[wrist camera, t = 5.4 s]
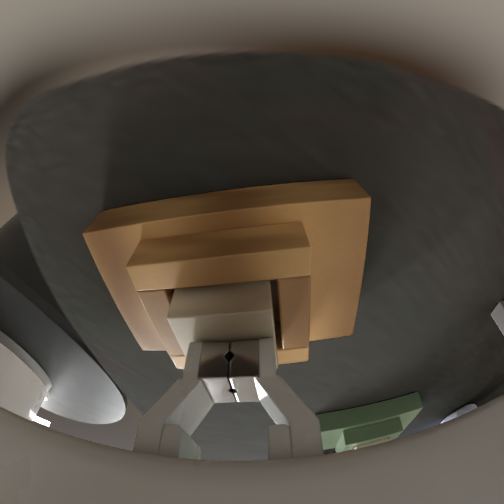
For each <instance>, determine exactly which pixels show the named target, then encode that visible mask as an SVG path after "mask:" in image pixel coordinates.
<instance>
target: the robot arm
mask: <svg viewBox="0 0 504 504" xmlns="http://www.w3.org/2000/svg"><path fill="white" fill-rule="evenodd" d="M51 387H52V384H51V381H50V379H49V377H48V375H47V374H46V373H45V371H44V370H43V369H42V368H41V367H40V365H39V364H38V363H37V362H36V361H35V360H34V359H33V358H32V357H31V356H30V355H29V354H28V353H27V352H26V351H24V350H23V349H22V348H21V347H20V346H19V345H18V344H17V343H15V342H14V341H13V340H12V339H11V338H9V337H8V336H7V335H6V334H4V333H3V332H2V331H0V504H504V394H503V395H501V396H499V397H497V398H495V399H494V400H492V401H490V402H488V403H486V404H484V405H482V406H480V407H478V408H476V409H474V410H472V411H470V412H467V413H465V414H463V415H461V416H458V417H456V418H454V419H451V420H449V421H447V422H444V423H441V424H439V425H436V426H434V427H431V428H428V429H425V430H423V431H420V432H417V433H414V434H411V435H407V436H404V437H401V438H398V439H394V440H391V441H387V442H383V443H379V444H375V445H371V446H367V447H363V448H358V449H353V450H348V451H343V452H337V453H331V454H325V455H324V453H323V445H322V437H321V429H320V422H319V419H318V418H317V417H316V415H315V414H314V413H313V412H312V411H311V410H310V409H309V408H308V407H307V406H306V404H305V403H304V402H303V401H302V400H301V399H300V398H299V397H298V396H297V394H296V393H295V392H294V391H293V390H292V389H291V388H290V387H289V385H288V384H287V383H286V382H285V381H284V380H283V378H282V377H281V376H277V369H276V358H275V348H274V338H265V339H249V340H236V341H232V342H231V341H226V342H190V344H189V346H188V351H187V356H186V361H185V367H184V372H183V378H182V379H178V380H177V381H176V382H175V383H174V384H173V385H172V386H171V388H170V389H169V390H168V391H167V392H166V393H165V394H164V395H163V396H162V397H161V398H160V399H159V400H158V401H157V402H156V403H155V404H154V405H153V406H152V407H151V408H150V409H149V410H148V411H147V413H146V414H145V415H144V416H143V417H142V418H141V419H140V420H139V425H138V429H137V434H136V439H135V443H134V449H133V451H130V450H125V449H120V448H116V447H111V446H107V445H103V444H99V443H95V442H92V441H88V440H84V439H81V438H78V437H74V436H71V435H68V434H65V433H62V432H59V431H57V430H54V429H51V428H48V427H49V425H50V422H48V421H46V420H43V419H41V418H39V417H36V414H37V412H38V410H39V408H40V406H41V404H42V402H43V400H45V401H47V400H48V398H49V396H50V395H49V392H48V391H49V390H50V388H51ZM236 399H237V401H238V402H256V401H260V403H261V404H262V405H263V407H264V408H265V410H266V411H267V412H268V414H269V415H270V417H271V418H272V419H273V421H274V422H275V423H276V425H271V426H270V427H269V428H268V453H269V460H263V461H214V460H200V456H201V448H200V447H199V446H198V445H197V444H196V443H195V442H194V441H193V440H192V439H191V437H190V436H191V435H192V434H193V432H194V431H195V429H196V428H197V427H198V425H199V424H200V423H201V421H202V420H203V418H204V417H205V416H206V414H207V413H208V411H209V410H210V409H211V407H212V406H213V404H214V403H219V402H236ZM33 420H34V421H36V422H39V423H41V424H43V425H46V426H48V427H46V426H43V425H41V424H38V423H36V422H33Z"/></svg>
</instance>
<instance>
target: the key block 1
mask: <svg viewBox="0 0 504 504" xmlns="http://www.w3.org/2000/svg"><path fill="white" fill-rule="evenodd" d="M370 206H371V197H370V196H369V195H368V194H367V193H366V192H365V191H364V189H363V188H362V187H361V186H360V185H359V184H358V183H357V182H356V181H355V180H354V179H336V180H322V181H309V182H297V183H286V184H276V185H266V186H257V187H248V188H240V189H232V190H224V191H216V192H209V193H202V194H195V195H189V196H182V197H176V198H170V199H164V200H158V201H152V202H146V203H141V204H136V205H130V206H125V207H120V208H115V209H110V210H105V211H102V212H101V213H100V214H99V215H98V216H97V217H96V218H95V220H94V221H93V222H92V223H91V224H90V225H89V226H88V227H87V229H86V230H85V231H84V232H83V236H84V239H85V241H86V243H87V246H88V248H89V250H90V252H91V255H92V257H93V259H94V261H95V263H96V265H97V268H98V270H99V272H100V274H101V276H102V278H103V280H104V282H105V284H106V286H107V288H108V290H109V292H110V294H111V296H112V298H113V299H114V301H115V303H116V305H117V307H118V309H119V311H120V312H121V314H122V316H123V318H124V320H125V321H126V323H127V325H128V326H129V328H130V330H131V332H132V333H133V335H134V337H135V338H136V340H137V342H138V343H139V345H140V346H141V348H142V350H167V352H168V354H169V355H170V357H171V359H172V360H173V362H174V364H175V366H176V367H177V368H178V369H184V367H185V361H186V357H185V355H184V353H183V351H182V349H181V347H180V345H179V343H178V341H177V339H176V337H175V335H174V332H173V330H172V328H171V326H170V324H169V322H168V320H167V315H168V311H169V308H170V304H171V301H172V297H173V294H174V290H175V288H185V287H197V286H209V285H220V284H231V283H242V282H252V281H262V280H270V285H271V294H272V304H273V314H274V324H275V334H276V346H277V358H278V364H284V363H293V362H302V361H308V357H309V341H313V340H320V339H328V338H334V337H341V336H347V335H352V334H353V329H354V324H355V319H356V314H357V308H358V302H359V297H360V291H361V284H362V278H363V271H364V263H365V256H366V248H367V239H368V229H369V218H370Z"/></svg>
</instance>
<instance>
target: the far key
mask: <svg viewBox="0 0 504 504" xmlns="http://www.w3.org/2000/svg"><path fill="white" fill-rule="evenodd" d="M387 441H388V438H385V439H381V440H377V441H373V442H369V443H365V444H361V445H356V446H354V447H353V449H358V448H363V447H367V446H371V445H375V444H379V443H383V442H387ZM353 449H352V450H353Z"/></svg>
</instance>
